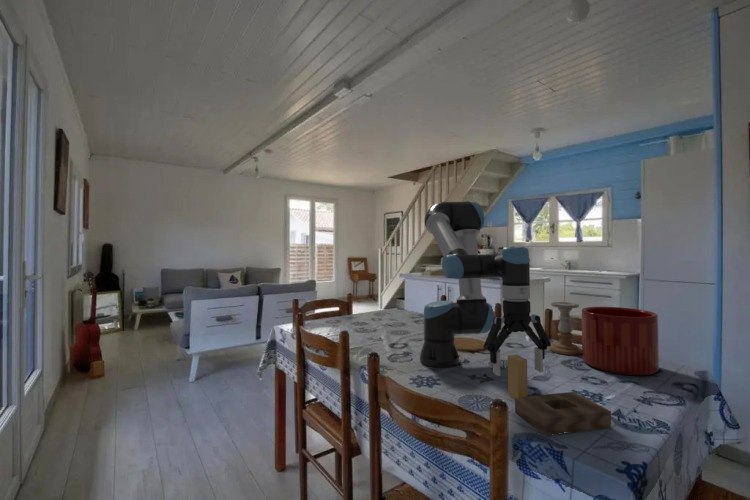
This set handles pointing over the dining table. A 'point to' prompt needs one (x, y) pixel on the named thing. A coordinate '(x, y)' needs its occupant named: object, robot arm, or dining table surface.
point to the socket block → (562, 413)
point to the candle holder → (565, 330)
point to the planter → (620, 340)
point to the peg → (517, 376)
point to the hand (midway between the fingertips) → (518, 372)
